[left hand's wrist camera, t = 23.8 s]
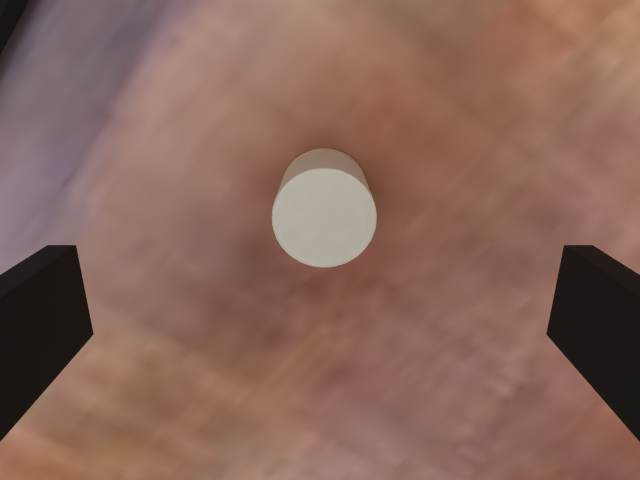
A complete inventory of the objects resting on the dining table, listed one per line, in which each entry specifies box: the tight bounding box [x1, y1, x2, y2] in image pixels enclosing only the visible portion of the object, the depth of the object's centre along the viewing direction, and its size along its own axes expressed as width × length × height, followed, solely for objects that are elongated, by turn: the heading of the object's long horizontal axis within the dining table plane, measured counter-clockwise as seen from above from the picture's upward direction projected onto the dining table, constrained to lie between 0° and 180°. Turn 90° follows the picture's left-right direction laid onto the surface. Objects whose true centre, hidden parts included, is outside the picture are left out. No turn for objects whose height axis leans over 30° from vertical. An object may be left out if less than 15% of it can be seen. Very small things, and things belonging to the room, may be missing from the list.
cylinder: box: [272, 148, 377, 267], centre depth 19 cm, size 4×4×4 cm
